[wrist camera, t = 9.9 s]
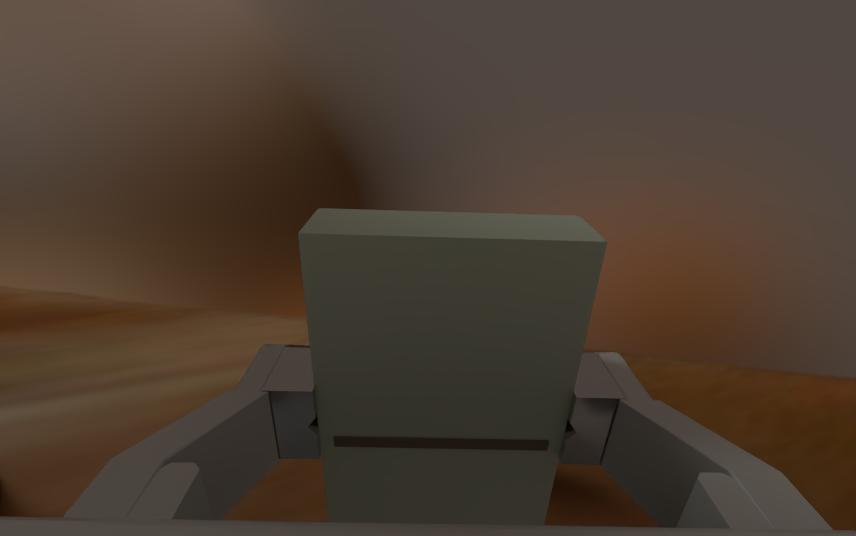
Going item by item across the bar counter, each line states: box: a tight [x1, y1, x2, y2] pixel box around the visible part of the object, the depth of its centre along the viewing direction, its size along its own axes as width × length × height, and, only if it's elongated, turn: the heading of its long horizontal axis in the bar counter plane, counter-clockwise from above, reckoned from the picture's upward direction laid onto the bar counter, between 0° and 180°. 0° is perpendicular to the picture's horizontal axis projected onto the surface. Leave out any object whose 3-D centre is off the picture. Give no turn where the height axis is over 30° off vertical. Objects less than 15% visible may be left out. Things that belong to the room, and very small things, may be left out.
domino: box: [298, 209, 607, 525], centre depth 9 cm, size 2×5×9 cm, turn 90°
